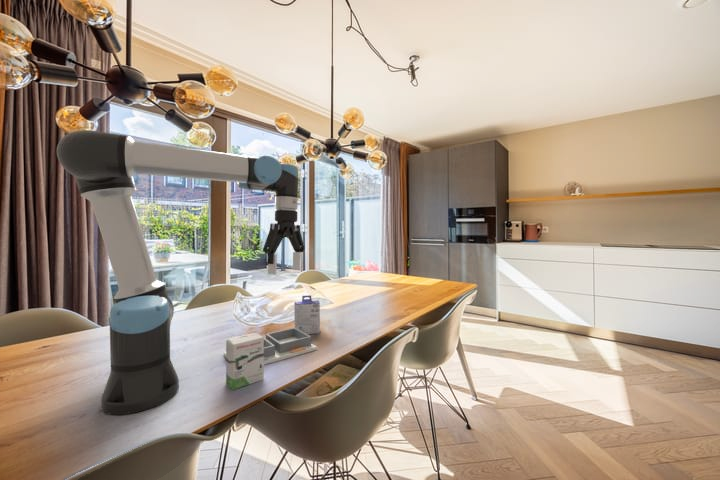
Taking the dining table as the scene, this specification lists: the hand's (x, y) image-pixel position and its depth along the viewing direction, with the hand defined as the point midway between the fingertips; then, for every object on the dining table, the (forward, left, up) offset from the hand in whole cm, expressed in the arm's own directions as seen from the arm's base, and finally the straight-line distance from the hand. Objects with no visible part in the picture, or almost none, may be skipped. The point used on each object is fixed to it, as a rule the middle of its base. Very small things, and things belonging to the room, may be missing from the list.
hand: (285, 272), depth 103 cm
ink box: (-18, -15, -27) cm, 36 cm away
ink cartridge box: (+14, +9, -27) cm, 31 cm away
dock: (-5, -1, -26) cm, 27 cm away
